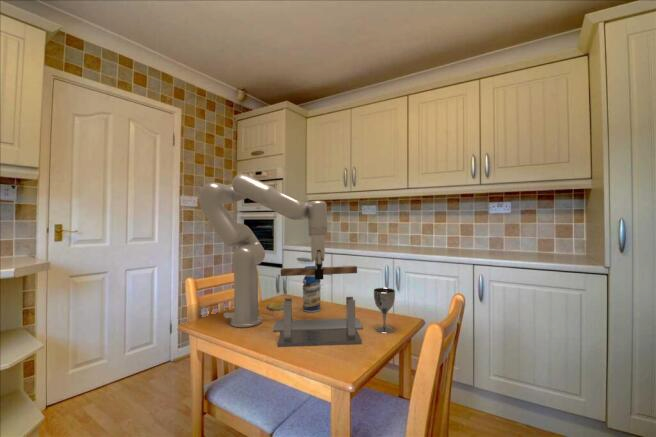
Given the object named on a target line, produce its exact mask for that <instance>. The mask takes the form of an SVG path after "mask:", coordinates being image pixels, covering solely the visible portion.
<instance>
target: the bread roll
mask: <svg viewBox="0 0 656 437" xmlns="http://www.w3.org/2000/svg"><path fill="white" fill-rule="evenodd" d="M284 302H285V300H282V299H272V300H270V301H269V302H267V305H266V307H267V309H268V310H269V311H271V310H272V311H283V310H284Z"/></svg>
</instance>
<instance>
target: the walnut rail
mask: <svg viewBox="0 0 656 437" xmlns="http://www.w3.org/2000/svg"><path fill="white" fill-rule="evenodd" d="M315 269H316V267H314V268H305V267H295V268H294V267H289V268H280V277H287V276H288V277H291V276H292V277H293V276H306V275H315ZM346 274H347V275H348V274H358V266H357V265H348V266H346V265H345V266H326V267H325V266H323V275H346Z"/></svg>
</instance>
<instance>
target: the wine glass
mask: <svg viewBox="0 0 656 437" xmlns="http://www.w3.org/2000/svg"><path fill="white" fill-rule="evenodd" d="M395 296H396V291H395V289H393V288H388V287H378V288H377V287H376V288H373V300H374V304H375V306H376V307H377V309H378V310H379V311H380V312H381V314H382V321H383V324H382V325H381V326H377V327H375V329H374V330H375V332H378V333H381V334H391V333H393V332H395V329H394V328H393V327H390V326H387V324H386V320H387V319H386V318H387V314H388V312H389V311H390V310H391V309H392V308H393V306H394V304H395V299H396V297H395Z"/></svg>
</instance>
